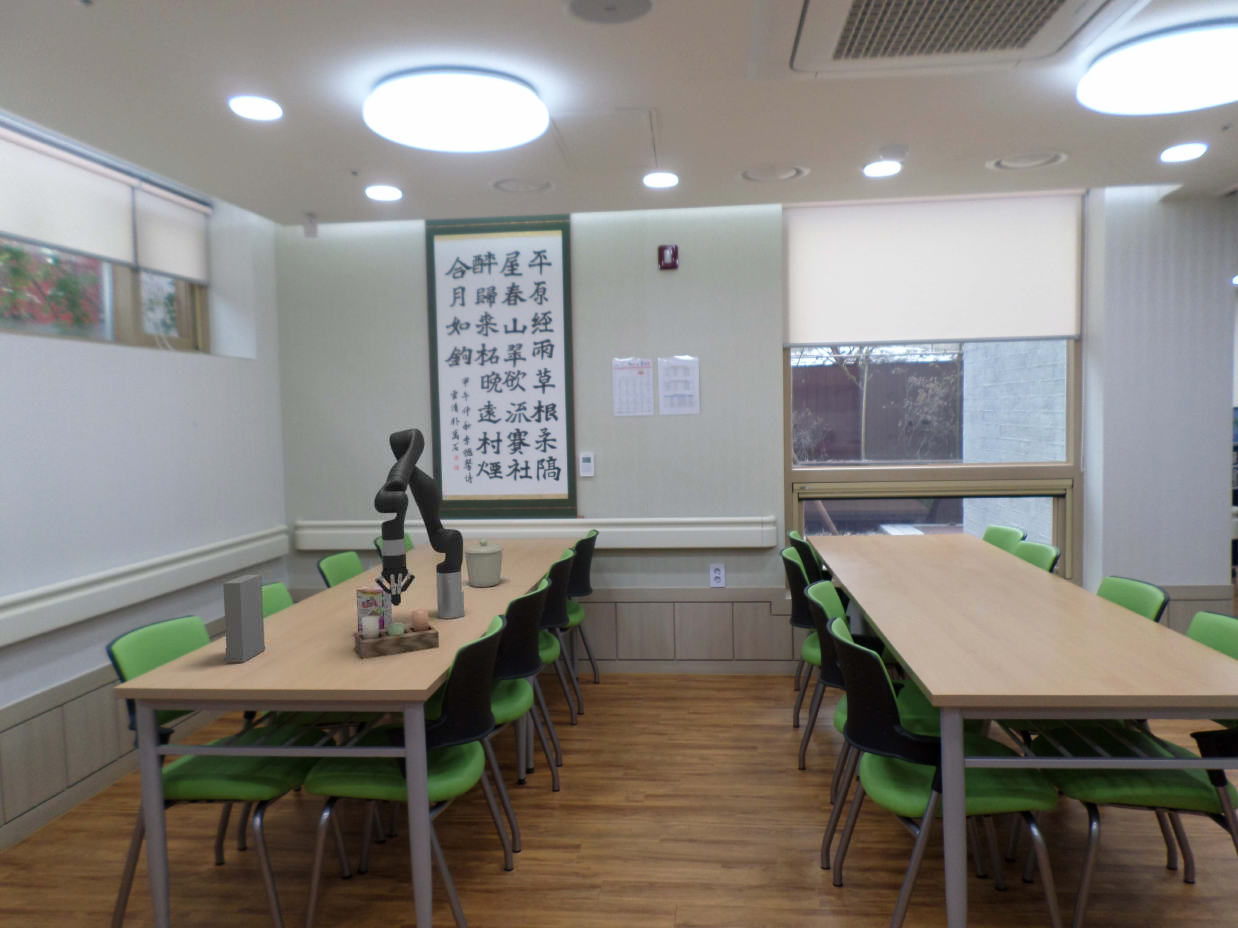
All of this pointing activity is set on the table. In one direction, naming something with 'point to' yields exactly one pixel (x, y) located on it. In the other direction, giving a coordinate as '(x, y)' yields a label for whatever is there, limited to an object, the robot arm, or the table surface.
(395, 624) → the green pillar candle
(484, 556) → the canister
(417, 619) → the pink candle
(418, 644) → the button board
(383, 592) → the candy bar box
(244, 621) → the upright grey tower
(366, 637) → the button cream
